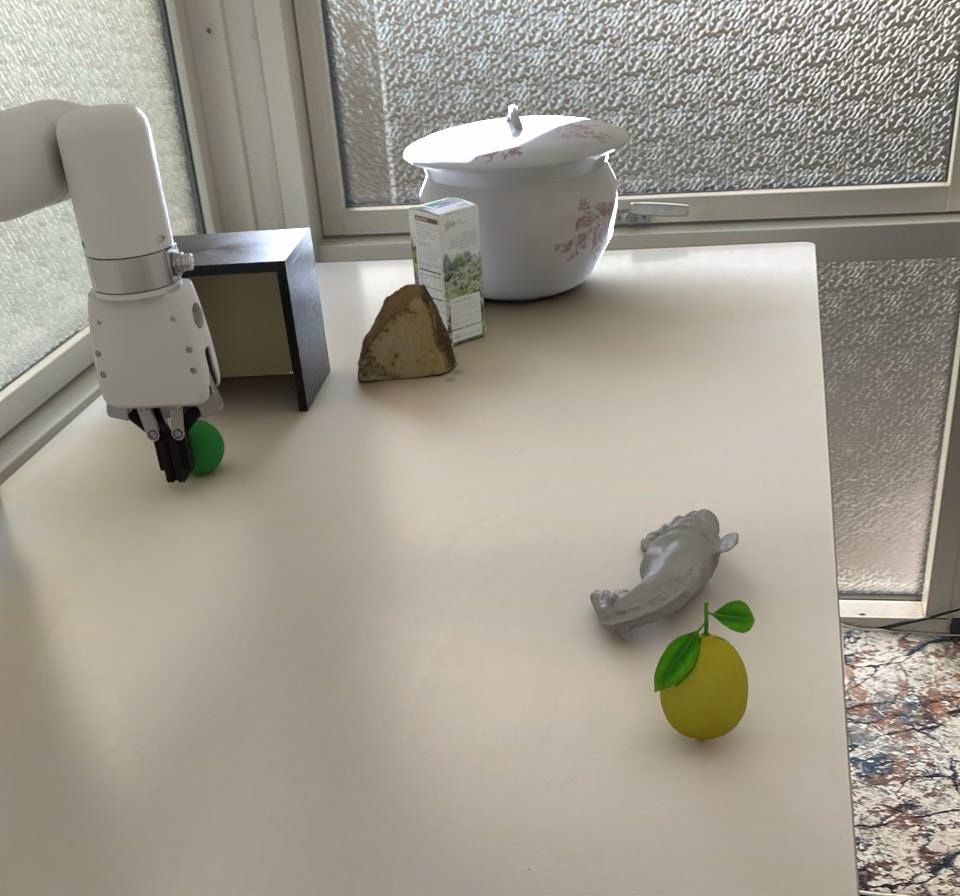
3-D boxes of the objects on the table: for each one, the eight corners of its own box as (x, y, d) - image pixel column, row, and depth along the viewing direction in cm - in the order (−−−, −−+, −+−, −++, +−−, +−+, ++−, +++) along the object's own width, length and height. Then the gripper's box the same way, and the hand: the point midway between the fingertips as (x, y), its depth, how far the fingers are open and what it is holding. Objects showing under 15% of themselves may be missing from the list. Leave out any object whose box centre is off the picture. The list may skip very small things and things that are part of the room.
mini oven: (141, 421, 142) (106, 273, 133) (177, 376, 153) (147, 237, 144) (306, 414, 140) (282, 263, 131) (330, 369, 151) (310, 227, 142)
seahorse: (591, 522, 111) (572, 603, 94) (725, 471, 107) (730, 546, 90) (613, 578, 113) (598, 667, 96) (745, 530, 110) (754, 614, 92)
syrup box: (456, 326, 160) (445, 195, 151) (488, 336, 156) (478, 201, 147) (419, 339, 157) (405, 205, 148) (450, 348, 153) (438, 212, 145)
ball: (180, 484, 130) (162, 459, 125) (182, 437, 131) (165, 411, 126) (230, 481, 130) (214, 457, 125) (232, 434, 131) (216, 408, 126)
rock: (334, 370, 143) (417, 361, 139) (338, 290, 143) (421, 279, 139) (382, 402, 153) (461, 394, 149) (386, 327, 153) (465, 318, 149)
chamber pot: (520, 333, 156) (508, 136, 143) (373, 296, 173) (352, 116, 160) (678, 274, 170) (680, 90, 157) (528, 245, 187) (519, 76, 174)
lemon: (749, 711, 88) (757, 574, 82) (761, 761, 84) (770, 619, 78) (648, 716, 89) (648, 580, 83) (654, 766, 84) (654, 625, 78)
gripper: (230, 254, 116) (266, 458, 127) (66, 263, 118) (116, 463, 129) (207, 279, 110) (248, 490, 121) (35, 288, 112) (91, 495, 123)
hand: (180, 476), depth 125 cm, fingers closed
